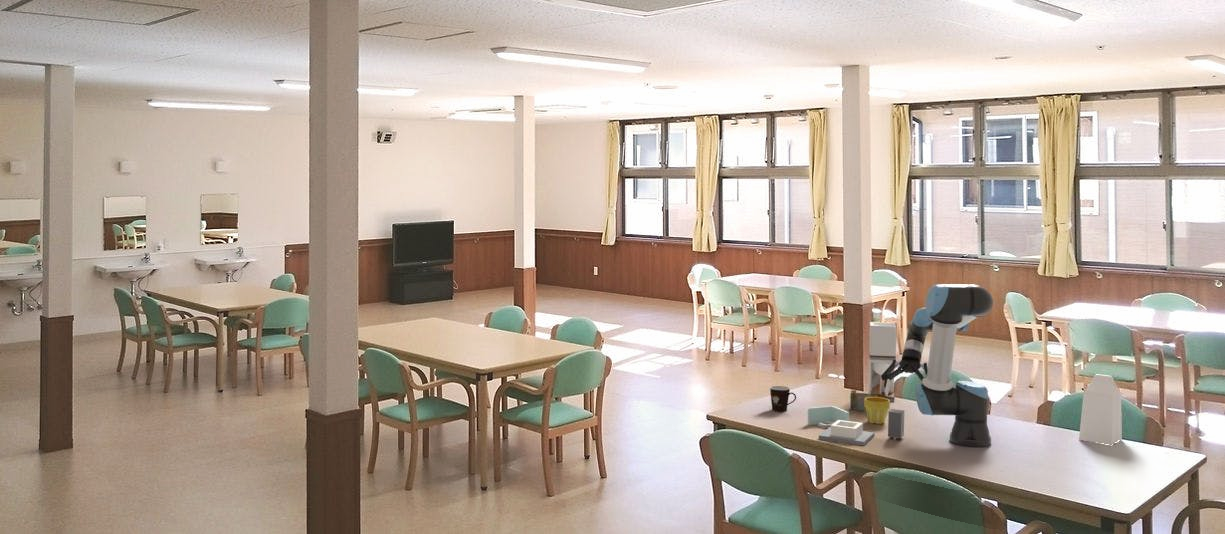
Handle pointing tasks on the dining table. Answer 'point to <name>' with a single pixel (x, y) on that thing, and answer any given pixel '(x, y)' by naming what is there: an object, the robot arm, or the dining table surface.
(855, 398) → the ruin model on sheet
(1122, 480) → the dining table surface
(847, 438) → the socket
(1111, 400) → the milk
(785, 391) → the coffee mug
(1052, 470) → the dining table surface
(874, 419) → the plant pot
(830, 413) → the right angle wall
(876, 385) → the white stand
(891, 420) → the plug
